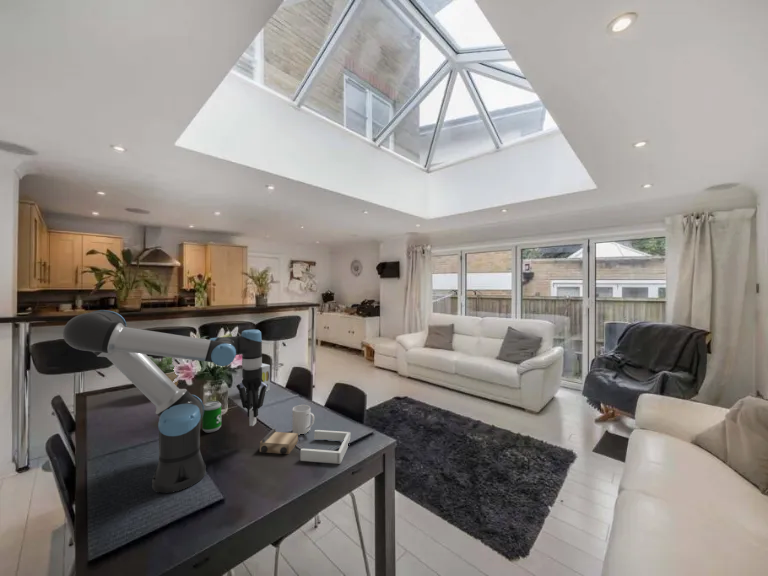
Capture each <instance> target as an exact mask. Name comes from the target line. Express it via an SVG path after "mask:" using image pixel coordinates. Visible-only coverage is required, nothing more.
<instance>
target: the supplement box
mask: <svg viewBox="0 0 768 576" xmlns="http://www.w3.org/2000/svg"><path fill="white" fill-rule="evenodd" d="M261 367H262V380H263V383H265V384H268V387H267V389H266V391H268V390H270V389H271V387H270V384H271V383H270V382H271V377H270V376H271V365H270V364H267V363H263V362H262V366H261ZM260 391H261V386H260V387H259V391H258V394H260Z"/></svg>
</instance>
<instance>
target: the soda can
mask: <svg viewBox="0 0 768 576" xmlns="http://www.w3.org/2000/svg"><path fill="white" fill-rule="evenodd" d="M203 406H204V414H203V417H202V421H201V424H202V429H201V430H202V431H204V432H205V433H206V434H207V433H214V432H217V431H219V430H220V428H221V427H222V403H221V402H220V401H219V400H211V401H207V402H205V403H204V404H203Z"/></svg>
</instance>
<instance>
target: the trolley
mask: <svg viewBox="0 0 768 576" xmlns="http://www.w3.org/2000/svg"><path fill="white" fill-rule="evenodd" d="M297 442H298V443H299V435H298V433H293V432H286V431H285V432H283V431H281V432H280V431H276V429H275V428H272V429H271V430H270V432H268V433H267V434H266V435H265V436H264V437H263V438H262V440H260V442H259V453H264V454H265V453H267V454H268V453H269V454H271V453H272V454H282V455H290V454H291V452H292V451H293V449H294V448H295V447H296V446H297V444H298V443H297ZM295 445H296V446H295Z"/></svg>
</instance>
